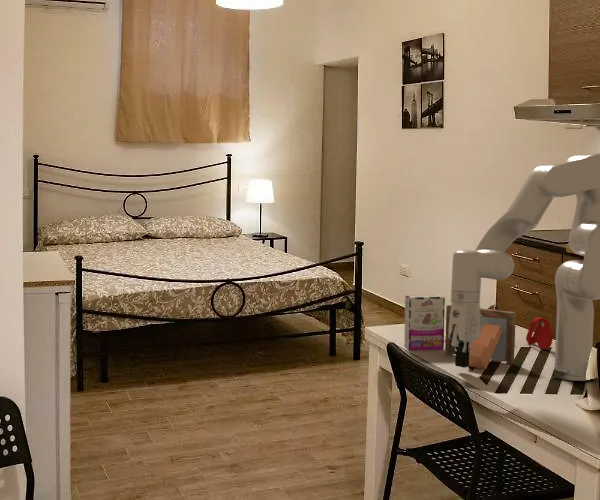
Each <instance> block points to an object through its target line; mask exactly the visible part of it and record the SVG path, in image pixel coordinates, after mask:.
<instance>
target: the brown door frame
mask: <svg viewBox="0 0 600 500" xmlns="http://www.w3.org/2000/svg"><path fill="white" fill-rule="evenodd" d="M451 305H452V304H448V305H446V307H445V308H446V311H445V312H446V313H445V317H446V318H445V333H446V338H445V342H444V355H446V356H451V355H453V354H452V345H451V344H452V340H450V339H449V334H448V333H449V318H450V311H451ZM480 312H481V315H487V316H496V317H504V318H506V319H508V329H507V355H506V362H505V365H509V366H512V365H514V364H515V344H516V340H515V339H516V319H517V312H516V311H507V310H506V311H505V310H500V309H499V310H491V309H488V308H481V307H480Z"/></svg>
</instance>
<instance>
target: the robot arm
mask: <svg viewBox="0 0 600 500" xmlns="http://www.w3.org/2000/svg"><path fill="white" fill-rule="evenodd" d="M574 195H575V196H576V197H575V198H576V206H575V212H574V215H573V219H572V222H571V223H572V224H571V228H570V232H569V237H568V246H569V249H570V250H571V252H573V253H575V254H576V255H579V256H581V257H583V260H579V259H571V260H567V261H565V262H563V263H562V264H560V265H559V267H558V268H557V270H556V273H555V276H554V284H555V285H554V287H555V292H556V323H555V324H556V325H555V327H556V328H555V351H554V356H555V357H554V370H556V372H557V371H558V372H561V374H559V375H557V376H555V377H554V378H556V379H558V380H559V379H560V380H564V381H565V380H566V381H575V382H587V381H586V370H587V365H588V359H589V356H590V352H591V350H592V351H593V338H594V335H593V334H594V319H595V308H594V302H593V301H597V300H598V301H599V300H600V153H583V154H575V155H573V156H570V157H568V159H566V160H565V162H564V163H557V164H543V165H538V166H537V167H535V168H534V169H532V170H531V172H530V173H529V175H528V177H527V178H526V180H525V181H524V183H523V185H522V187H520V190H519V192H518V194H517V195H516V197H515V198H514V200H513V202H511V205H510V206H509V208H508V210H507V211H506V212H505V213H504V214H503V215H502V216H500V217H499V219H498V220H496V222H495V223H494V224H493V225H492V226H491V227H490V228H489V229H488V230H487V231H486V233H484V235H483V236H482V239H481V240H480V242H479V243H478V245H477V246H476V248H475V250H472V249H471V250H470V249H469V250H467V249H460V250H456V251H454V253H453V255H452V268H451V269H452V270H451V271H452V272H451V288H450V291H451V292H450V303H451V304H450V305H451V311H450V318H449V333H448V334H449V339H450V340H452V344H451V345H452V346H455V351H456V354H455V361H454V365H455V367H460V368H468V367H470V366H469V353H470V349H471V344H472V343H473V342H474V340H477V339H479V338H480V334H481V312H480V308H481V287H482V286H481V285H482V279H490V280H496V281H501V280H505V279H507V278H509V277H510V276H511V275H512V274H513V272H514V271H515V270H514V269H515V262H514V259H513V258H512V256H511V255H509V253H506V250H507V249H508V248H509V246H510V245H511V244H512V243H513V242H515V241H516V240H517V239H518V238H520V237H522V236H523V235H525V234H529V232H531V231H532V230H534V229H535V228H536V227H537V226H538V224H540V221H541V220H542V218H543V216H544V214H545V213H546V211H547V209H548V208H549V207H550V205H551V203H552V201H553V200H554V198H564V197H569V196H574ZM468 351H469V352H468Z"/></svg>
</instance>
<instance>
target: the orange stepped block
mask: <svg viewBox="0 0 600 500" xmlns="http://www.w3.org/2000/svg"><path fill="white" fill-rule="evenodd" d="M502 332H503V330H502V328H501V326H498V325H491V324H483V326H482V329H481V334H480V338H479V339H477V340H474V342H473V343H472V344H471V349H470V353H469V366H468V367H472V368H478V369H483V370H487V368H488V366H489V364H490V361H491V360H490V359H491V357H492V355H493V352H494V350H495V348H496V346H497V343H498V341H499V339H500V337H501V334H502ZM468 352H469V351H468Z"/></svg>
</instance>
